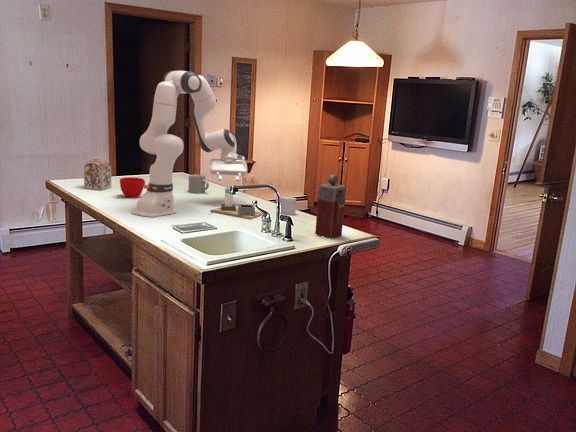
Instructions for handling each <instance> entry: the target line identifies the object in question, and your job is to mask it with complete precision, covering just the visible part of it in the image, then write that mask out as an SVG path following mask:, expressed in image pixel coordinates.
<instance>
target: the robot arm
mask: <svg viewBox="0 0 576 432" xmlns="http://www.w3.org/2000/svg"><path fill="white" fill-rule="evenodd" d="M210 85H211V84H209V82H208V80H207V79H206V78H205V77H204V76H203V75H201V74H198V73H195V72H193V71H190V70H189V71H187V70H170V71H168V72H166V73H165V74H164V76H163V78H162V81H161V82H159V83H158V84H157V86H156V88H155V93H154V97H153V103H152V105H153V106H152V116H151V120H150V123H149V126H148V127H147V130H146V131H145V132H144V133H143V134H142V135H140V138H139V147H140V148H141V150H142V151H144V152H146V153H147V154H149V155H156V159H155V161H154V163H153V164H151V165H150V168H149V182H148V184H145V185H144V186H143V190H144V189H146V192H145V193H144V194H143V195H141V197H140V198H139V199H138V200H137V202H136V209H133V210H132V211H131V214H133V215H137V216H140V217H149V218H156V217H160V216H161V217H163V216H167V215H173V214H174V215H175V214H176V213H177V211H176V209H175V208H176V207H175V198H174V194H173V191H174V183H173V170H174V165H175V163H176V160H177V159H178V157H180V155H181V154H182V153H183V151H184V146H185V145H184V141H183V139H182V138H181V137H179V136H177V135H175V134H170V133H168V131H169V129H170V127H171V126H173V125H174V124H175V122H176V117H177V105H178V97H179V95H180V94H183V95H184V94H190V96H191V98H192V101H193V104H194V108H193V109H192V117H193V122H194V126H195V129H196V132H197V136H198V141H199V142H198V143H199V145H200V148H201V150H202V151H203V152H206V153H211V152H214V151H216V150H220V151H221V153H220V158H212V159H210V160H209V165H210V166H209V173H210V175H216V177H217V178H218V181H222V176H221V175H225V176H227V175H228V176H235V182H239V181H240V178H241V176H246V175H247V174H248V166H247V162H246V159H245V156H244V155H240V154H238V153H237V149H238V148H237V147H238V146H237V145H238V144H237V139H236V136H235V135H234V133H232V131H230V130H229V129H227V128H224V129H219V130H216V131H213V132H207V131H206V127H205V124H204V123H205V122H204V118H205V117H206V116H208V115H209V114H210V113H211V112H212V111H213V110H214V109H215V107H216V103H217V100H216V97H215V94H214V92H213V90H212V88H211V86H210Z"/></svg>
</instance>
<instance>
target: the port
mask: <svg viewBox="0 0 576 432" xmlns="http://www.w3.org/2000/svg"><path fill="white" fill-rule="evenodd" d="M237 205H238V206H237V208H238V214H239V215H247V216H255V211H256V207H255V204H247V203H246V204H245V203H243V204H242V203H238V204H237Z"/></svg>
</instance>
